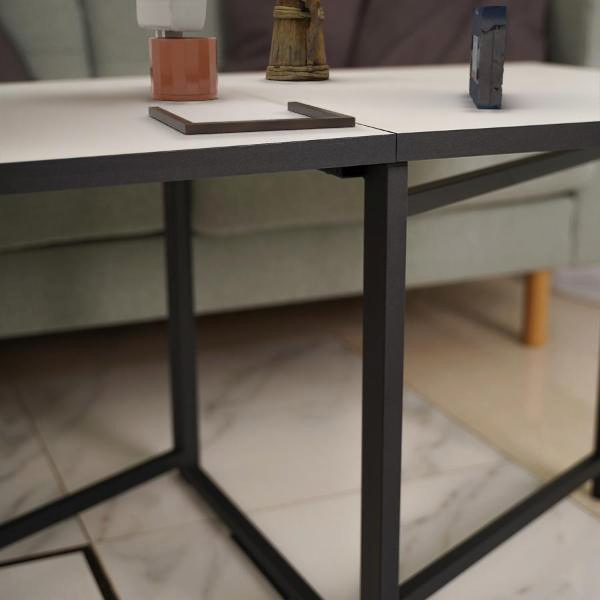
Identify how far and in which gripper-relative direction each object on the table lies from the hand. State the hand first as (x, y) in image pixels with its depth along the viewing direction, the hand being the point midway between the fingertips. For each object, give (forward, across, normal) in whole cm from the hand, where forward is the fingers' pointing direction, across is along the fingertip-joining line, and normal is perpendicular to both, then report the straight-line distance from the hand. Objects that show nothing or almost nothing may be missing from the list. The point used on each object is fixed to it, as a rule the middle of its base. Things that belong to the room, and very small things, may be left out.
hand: (170, 70), depth 108 cm
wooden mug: (+3, -14, +22) cm, 26 cm away
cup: (+3, +6, 0) cm, 7 cm away
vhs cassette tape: (+3, +21, +30) cm, 37 cm away
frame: (+3, +30, 0) cm, 30 cm away
